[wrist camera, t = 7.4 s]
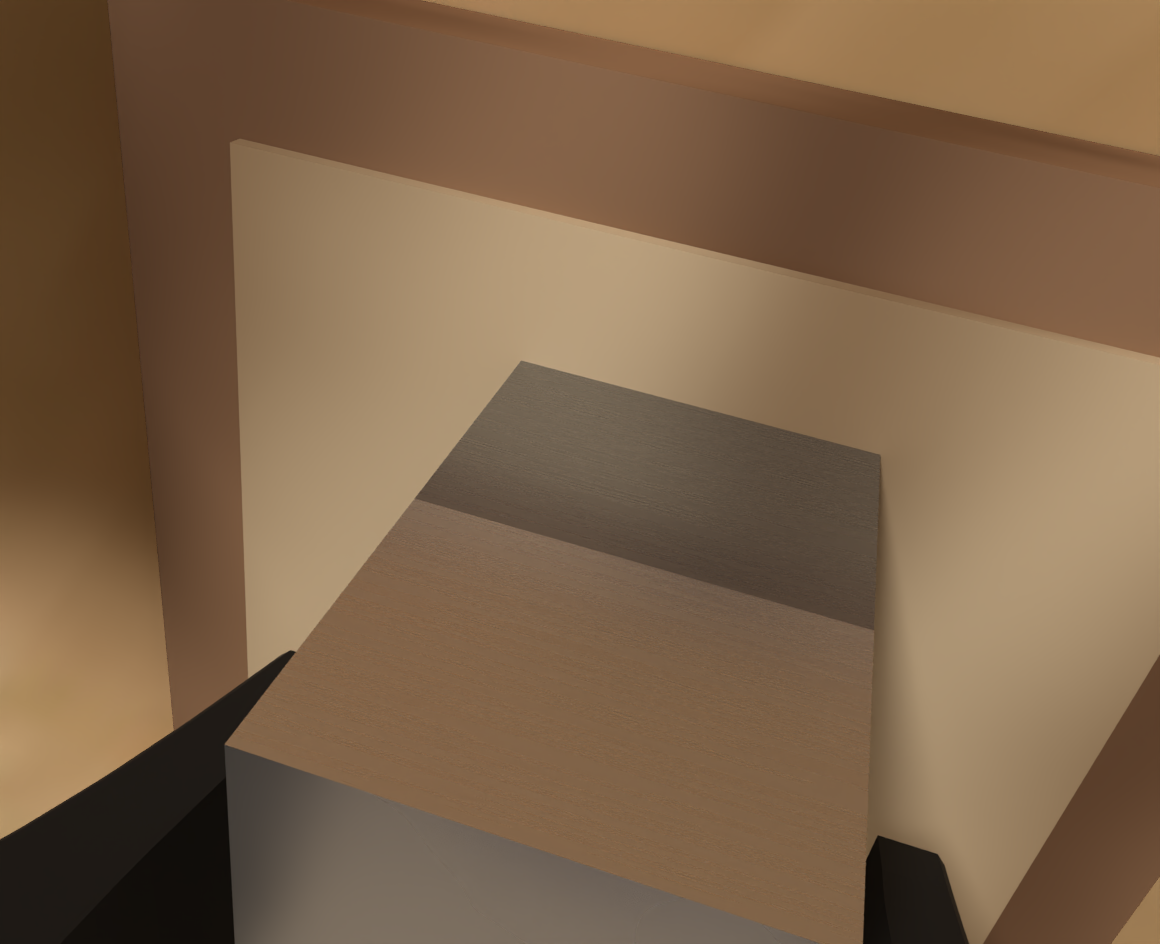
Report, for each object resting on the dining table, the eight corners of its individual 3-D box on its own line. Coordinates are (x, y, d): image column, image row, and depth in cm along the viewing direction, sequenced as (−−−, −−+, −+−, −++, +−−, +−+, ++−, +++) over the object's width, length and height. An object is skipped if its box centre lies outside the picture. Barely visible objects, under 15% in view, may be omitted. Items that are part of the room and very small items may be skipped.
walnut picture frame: (1504, 228, 10) (1605, 288, 8) (980, 1024, 17) (988, 1127, 16) (188, -49, 12) (91, -37, 10) (229, 771, 19) (176, 842, 18)
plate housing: (880, 454, 11) (862, 955, 6) (729, 869, 15) (640, 1391, 10) (521, 360, 11) (225, 744, 6) (464, 782, 15) (249, 1233, 10)
